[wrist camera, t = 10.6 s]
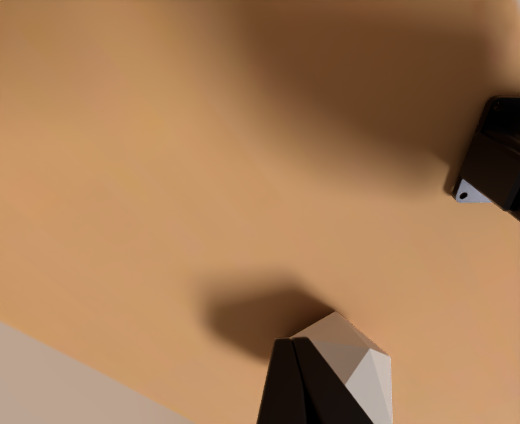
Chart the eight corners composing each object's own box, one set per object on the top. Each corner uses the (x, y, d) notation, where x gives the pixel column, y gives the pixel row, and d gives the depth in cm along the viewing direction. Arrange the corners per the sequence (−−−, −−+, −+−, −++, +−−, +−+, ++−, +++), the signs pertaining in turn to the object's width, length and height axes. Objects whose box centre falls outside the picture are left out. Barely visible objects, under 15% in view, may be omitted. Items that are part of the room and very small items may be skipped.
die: (261, 296, 27) (238, 444, 23) (377, 301, 22) (371, 488, 18) (308, 317, 33) (296, 437, 29) (407, 324, 28) (407, 469, 25)
